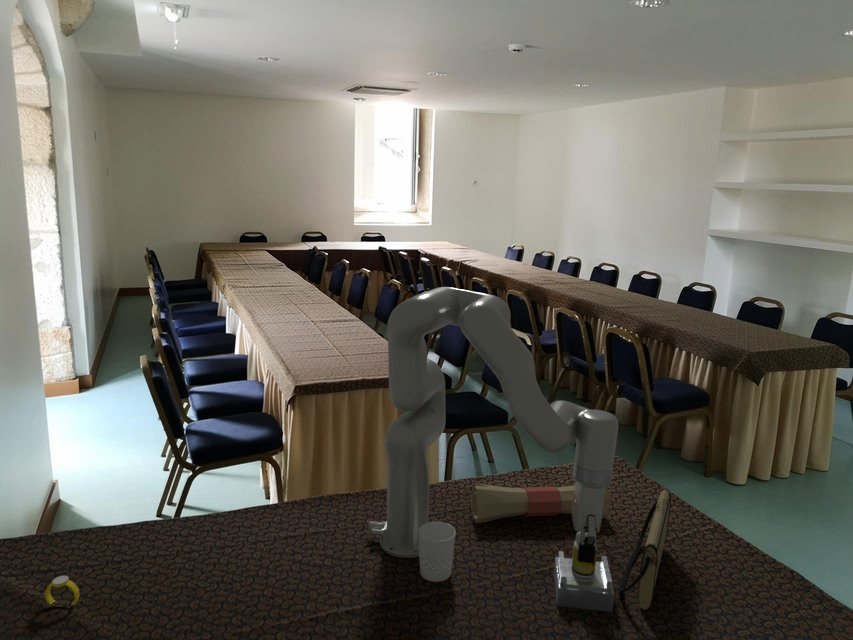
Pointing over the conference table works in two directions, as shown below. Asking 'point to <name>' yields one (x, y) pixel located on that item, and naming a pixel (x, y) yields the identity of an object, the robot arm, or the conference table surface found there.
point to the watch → (58, 583)
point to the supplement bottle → (581, 567)
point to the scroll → (523, 501)
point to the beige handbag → (650, 550)
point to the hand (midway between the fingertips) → (583, 547)
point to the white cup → (436, 550)
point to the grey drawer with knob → (583, 586)
